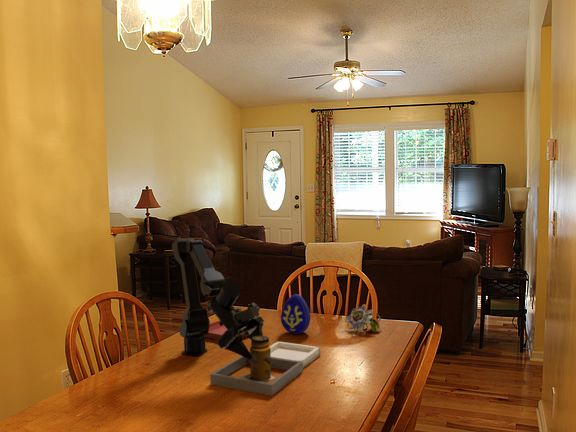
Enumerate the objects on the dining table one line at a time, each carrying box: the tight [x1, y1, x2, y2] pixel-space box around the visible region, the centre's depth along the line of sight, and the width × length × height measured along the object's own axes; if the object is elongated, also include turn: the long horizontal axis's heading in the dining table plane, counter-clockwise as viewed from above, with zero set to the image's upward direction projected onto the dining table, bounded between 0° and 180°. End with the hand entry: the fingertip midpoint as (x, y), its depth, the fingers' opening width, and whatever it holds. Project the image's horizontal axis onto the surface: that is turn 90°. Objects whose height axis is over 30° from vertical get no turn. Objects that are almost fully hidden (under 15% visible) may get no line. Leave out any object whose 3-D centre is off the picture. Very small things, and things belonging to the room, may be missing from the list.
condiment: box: [239, 335, 277, 382], centre depth 154 cm, size 7×8×12 cm
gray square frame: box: [209, 355, 304, 397], centre depth 154 cm, size 20×20×3 cm
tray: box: [269, 340, 321, 369], centre depth 171 cm, size 16×15×2 cm
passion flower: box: [344, 303, 382, 333], centre depth 202 cm, size 11×11×12 cm
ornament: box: [280, 293, 311, 335], centre depth 199 cm, size 11×9×15 cm
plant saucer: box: [204, 320, 249, 341], centre depth 199 cm, size 18×18×3 cm
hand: (259, 353), depth 153 cm, fingers open, 9 cm apart
